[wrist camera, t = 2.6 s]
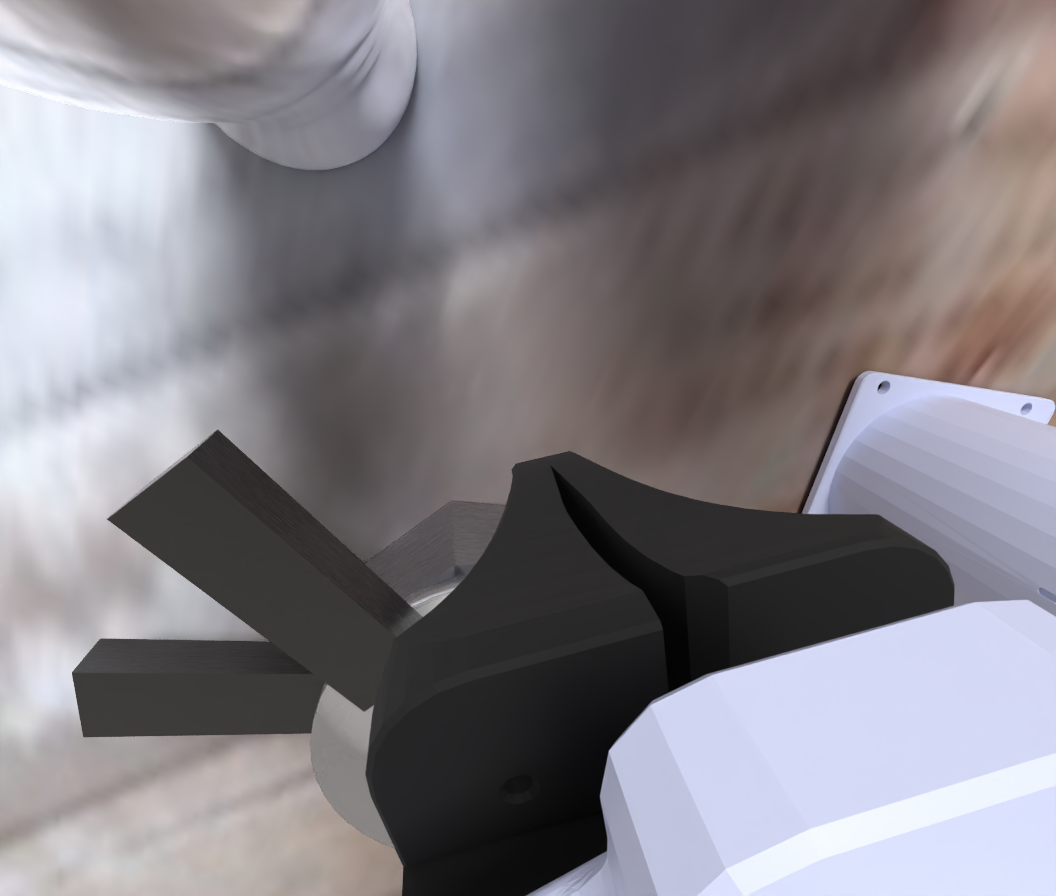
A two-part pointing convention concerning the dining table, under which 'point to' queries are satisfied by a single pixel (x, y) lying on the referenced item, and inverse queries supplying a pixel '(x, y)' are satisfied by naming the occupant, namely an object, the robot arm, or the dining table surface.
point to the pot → (255, 653)
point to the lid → (285, 596)
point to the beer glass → (225, 67)
